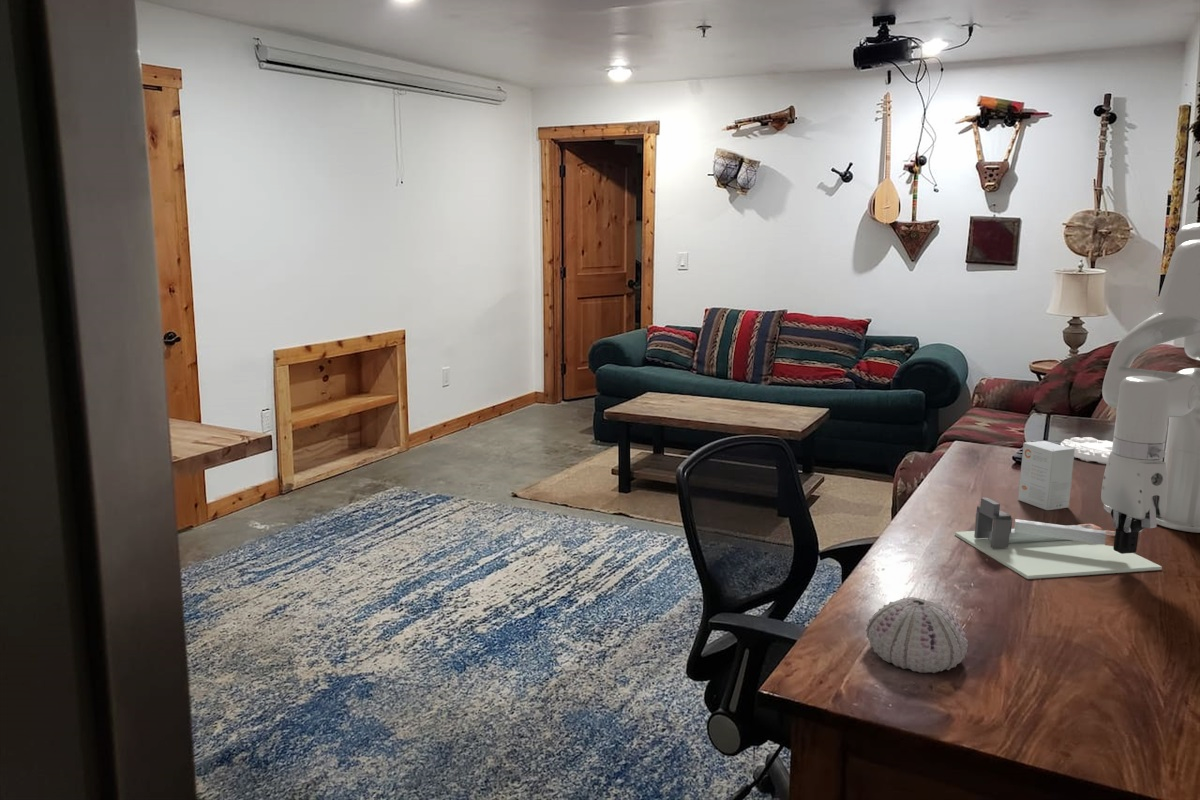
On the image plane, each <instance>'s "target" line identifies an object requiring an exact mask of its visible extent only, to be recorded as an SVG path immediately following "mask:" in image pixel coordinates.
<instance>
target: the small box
mask: <svg viewBox="0 0 1200 800" xmlns="http://www.w3.org/2000/svg"><path fill="white" fill-rule="evenodd" d="M1022 446H1023V447H1022V457H1021V465H1020V475H1019V487H1018V494H1017V495H1018V496H1017V500H1018V501H1020V502H1023V503H1026V504H1029V505H1031V506H1034V507H1037V508H1040V509H1042V510H1045V511H1054V510H1062V509H1066V508H1067V509H1068V508H1069V507H1070V500H1071V499H1070V498H1071V490H1072V479H1073V471H1074V461H1075V457H1074V453H1075V449H1073V448H1069V447H1066V446H1062V445H1060V444H1058V443H1053V442H1051V441H1046V440H1040V441H1038V440H1037V441H1027V442H1026V441H1025V442H1023V445H1022Z"/></svg>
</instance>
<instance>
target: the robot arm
mask: <svg viewBox="0 0 1200 800" xmlns="http://www.w3.org/2000/svg"><path fill="white" fill-rule="evenodd" d="M1174 241H1175V244H1174V247H1175V249H1174V250H1173V253H1172V254H1171V258H1170V260H1169V261H1170V262H1169V264H1168V267H1167V271H1166V274H1165V277H1164V281H1163V284H1162V287H1161V290H1160V293H1159V295H1158V299H1157V301H1156V302H1157V303H1156V306H1155V310H1154V312H1153V313H1152V315H1151V316H1150V317H1148V318H1146V319H1144V320H1143V321H1142V322H1140V323H1139V324H1137V325H1136V326H1134V327H1132V329H1130V331H1128V332H1127V333H1126V334H1125V335H1124V336H1123V337H1122V338H1121V340H1119V342H1117V344H1116V346H1115V347H1114V349H1113V351H1112V353H1111V356H1110V359H1109V362H1108V365H1107V368H1106V371H1105V375H1104V378H1103V382H1102V388H1101V389H1102V390H1101V392H1102V393H1101V394H1102V399H1103V400H1104V402H1105V403H1106V405H1108V406H1109V407H1112V408H1114V409H1116V412H1115V422H1114V423H1115V425H1114V432H1113V440H1112V442H1113V446H1112V452H1111V453H1110V455H1109V458H1108V461H1107V464H1105V467H1104V468H1105V470H1104V473H1103V478H1102V485H1101V492H1100V494H1101V495H1100V499H1101V503H1103V509H1104V511H1106V512H1107V513H1109V515H1111V518H1112V521H1113V522H1112V523H1113V527H1114V528H1115V531H1116V532H1115V540H1114V548H1113V549H1114V550H1115V551H1117V552H1119V553H1121V554H1126V553H1134V554H1136V552H1137V549H1138V540H1139V533H1142V532H1143V530H1144V529H1153V528H1154V529H1155V528H1157V527H1158V526H1157V525H1159V526H1161V527H1164V528H1167V529H1171V530H1176V531H1180V532H1181V531H1182V532H1189V533H1198V534H1199V533H1200V367H1189V368H1183V369H1180V370H1179V371H1176V372H1171V371H1163V370H1162V371H1161V370H1154V369H1147V368H1145V369H1144V368H1137V367H1136V368H1135V367H1131V366H1132V364H1133V362H1134V361H1135V360H1136V358H1138V356H1139V355H1140V354H1142V353H1144V352H1145V351H1147V350H1148V349H1150V348H1153V347H1155V346H1158V345H1160V344H1164V343H1167V342H1171V341H1174V340H1178V339H1181V338H1184V339H1183V348H1184V353H1185V354H1186V356H1187V357H1189V358H1190V359H1193V360H1196V361H1200V222H1194V223H1189V224H1186V225H1183V226H1182V227H1180V228H1179V229H1178V230H1177V233H1176V235H1175V239H1174Z"/></svg>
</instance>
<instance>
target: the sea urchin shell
mask: <svg viewBox="0 0 1200 800" xmlns="http://www.w3.org/2000/svg"><path fill="white" fill-rule="evenodd" d="M865 632H866V638H868V641H869V646H870V647H871V648H873V652H874V653H875V654H877V656H878V657H880V658H881V659H882V660H883V661H885V662H887V663H888V664H893V665H894V666H895V667H900V668H902V669H903V670H904V669H906V670H907V669H909V670H911V671H912V672H918V673H933V674H936V673H938V672H943V671H945V670H947V671H950V670H951V669H952V668H956V667H957V665H959V664H961V663H962V660H963V659H965V658H966V657H965V655H966V654H967V653H968V652H967V651H968V650H967V649H968V647H969V645H968V642H969V641H968V639H967V638H966V635H967V634H966V633H965V631H964V630H963V628H962V624H960V623H959V619H958V618H956V617H955V615H954V613H952V612H951V611H949V609H948V608H947V607H945V606H944V605H942V604H940V603H939V602H936V601H935V602H934V601H931V600H927V599H926V600H925V599H922V598H920V597H914V596H907V597H903V598H900V599H898V600H895V601H889V603H888V604H884V605H883V607H882V608H878V611H876V612H875V613H874V614H873V615H872V617H871V618H868V622H867V624H866V629H865Z"/></svg>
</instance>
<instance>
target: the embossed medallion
mask: <svg viewBox="0 0 1200 800" xmlns="http://www.w3.org/2000/svg"><path fill="white" fill-rule="evenodd" d="M1059 445H1062V446H1066V447H1069V448H1073V449H1075V453H1074V459H1076V458H1078V459H1080V460H1081V461H1085V462H1096V463H1097V464H1103V465H1107V461H1108V458H1109V455H1110V453H1111V452H1112V446H1113V441H1110V440H1107V439H1106V440H1100V439H1097V438H1095V437H1092V436H1090V437H1089V436H1085V437H1084V436H1083V437H1079V436H1078V437H1077V436H1074V437H1070V439H1065V438H1064V440H1062V441H1060V444H1059Z"/></svg>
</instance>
